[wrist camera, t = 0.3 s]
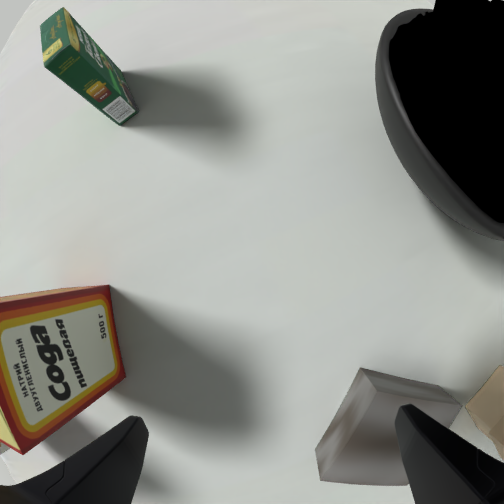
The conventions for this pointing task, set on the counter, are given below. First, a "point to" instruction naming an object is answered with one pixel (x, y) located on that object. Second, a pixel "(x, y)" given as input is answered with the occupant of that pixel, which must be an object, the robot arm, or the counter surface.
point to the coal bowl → (448, 106)
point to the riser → (376, 429)
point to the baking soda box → (54, 360)
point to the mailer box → (488, 403)
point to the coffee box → (85, 67)
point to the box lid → (498, 436)
